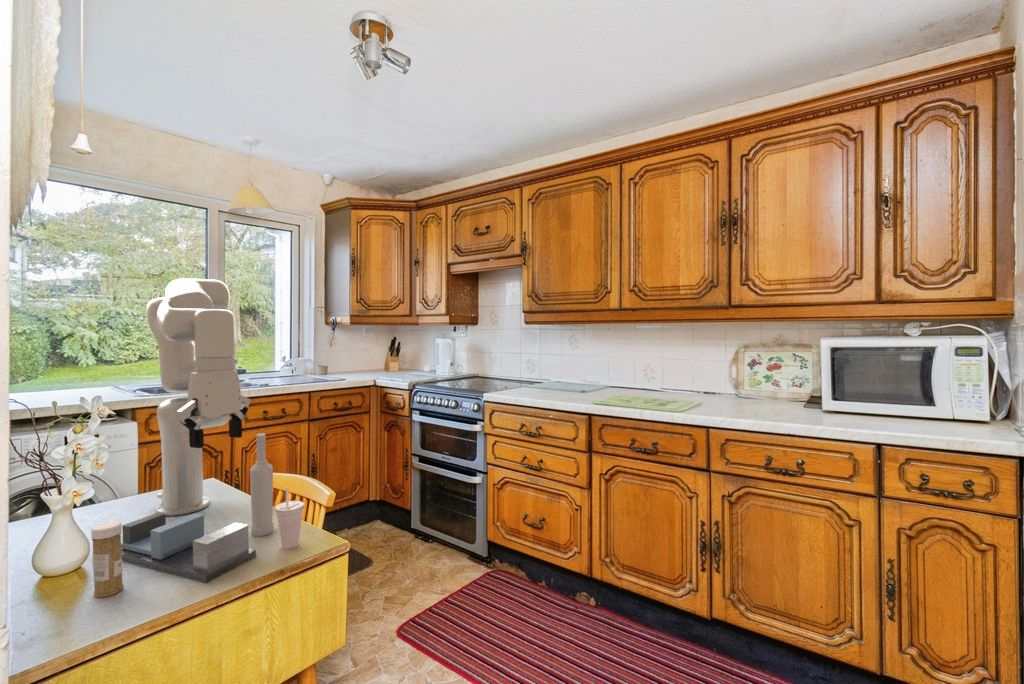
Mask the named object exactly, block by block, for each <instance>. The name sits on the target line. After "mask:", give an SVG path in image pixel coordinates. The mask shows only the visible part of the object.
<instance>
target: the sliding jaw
mask: <svg viewBox="0 0 1024 684" xmlns="http://www.w3.org/2000/svg"><path fill="white" fill-rule="evenodd" d="M166 519H167V517H166V514H164V513H159V512H158V513H154V514H151V515H150V514H149V515H148V516H144V517H142V518H138V519H137V520H133V521H130V522H128V523H125V524H122V542H121V548H123V549H127V550H131V551H135V552H139V553H143V554H147V555H151V557H152V558H156V559H160V560H161V559H163V558H166V557H168V556H170V555H172V554H175V553H177V552H179V551H181V550H183V549H186V548H188V547H190V546H192V545H193V541H194V540H196V539H199V538H201V537H203V536H205V515H204V514H201V513H200V514H199V513H195V512H193V513H192V514H189V515H187V516H184V517H182V518H179V519H177V520H173V521H171V522H169V523H166V522H167V520H166Z"/></svg>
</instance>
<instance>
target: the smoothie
mask: <svg viewBox="0 0 1024 684" xmlns="http://www.w3.org/2000/svg"><path fill="white" fill-rule="evenodd" d="M304 509H305V502H303V501H300V500H290V499H289V487H286V488H285V501H284V502H280V503H279V504H277V505H276V506H274V513H276V517H277V518H276V519H277V527H278V531H279V538H280V544H281V548H282V549H284V550H290V549H294V548H296V547H298V546H299V544H300V536H301V535H300V534H301V527H302V517H303V512H304V511H303V510H304Z"/></svg>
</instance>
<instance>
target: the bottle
mask: <svg viewBox="0 0 1024 684" xmlns="http://www.w3.org/2000/svg"><path fill="white" fill-rule="evenodd" d="M266 436H267V435H266V433H257V434H256V437H255V438H256V440H255V441H256V461H255V464H253V466H251V468H250V469H249V476H250V477H249V478H250V479H249V480H250V507H251V508H250V509H251V526H250V532H251V535H252V536H253V537H264V536H267V535H270V534H272V533H273V531H274V526H275V524H274V521H273V518H274V517H273V512H274V511H273V507H274V506H273V505H274V501H273V500H274V496H273V494H274V488H273V487H274V485H273V483H274V466H273V465H272V464H270V463H269V462H268V460H267V456H266V455H267V454H266V453H267V452H266V449H267V447H266V445H267V444H266V442H267V441H266V439H267V438H266Z"/></svg>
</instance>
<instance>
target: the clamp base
mask: <svg viewBox="0 0 1024 684" xmlns="http://www.w3.org/2000/svg"><path fill="white" fill-rule="evenodd" d="M249 536H250V535H249V524H245V523H241V522H233V523H230V524H228V525H226V526H223V527H221V528H219V529H217V530H215V531H212V532H211V533H208V534H204V536H203V537H201V538H199V539H196V540H194V541H193V545H192V546H190V547H188V548H186V549H183V550H181V551H179V552H177V553H175V554H172V555H170V556H168V557H166V558H163V559H161V560H160V559H156V558H152V557H151V555H147V554H143V553H139V552H135V551H131V550H127V549H123V548H121V551H122V562H127V563H131V564H133V565H136V566H137V565H138V566H141V567H145V568H147V569H148V568H149V569H153V570H156V571H159V572H163V573H167V574H170V575H175V576H178V577H182V578H186V579H190V580H193V581H197V582H200V583H205V584H207V583H209V582H212V581H213V580H215V579H217V578H219V577H221V576H222V575H224V574H226V573H228V572H230V571H231V570H234V569H235V568H237V567H240V566H241V565H242V564H243V565H244V564H245V563H246V562H248V561H250V560H253V558H256V557H257V550H256V549H253V548H250V547H249V546H250V543H249V541H250V540H249V539H250V537H249Z"/></svg>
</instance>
